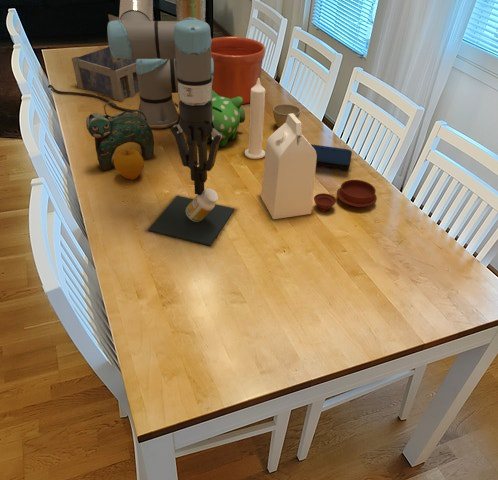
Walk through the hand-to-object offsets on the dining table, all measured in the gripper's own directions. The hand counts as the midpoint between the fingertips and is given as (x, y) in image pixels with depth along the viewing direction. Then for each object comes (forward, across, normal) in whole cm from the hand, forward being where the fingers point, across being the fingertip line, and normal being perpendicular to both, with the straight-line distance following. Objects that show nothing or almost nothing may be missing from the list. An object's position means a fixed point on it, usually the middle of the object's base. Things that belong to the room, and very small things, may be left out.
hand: (199, 192), depth 119 cm
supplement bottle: (+8, -2, +1) cm, 9 cm away
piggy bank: (+9, -14, +50) cm, 53 cm away
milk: (+10, +19, +18) cm, 28 cm away
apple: (+10, -30, +15) cm, 35 cm away
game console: (+10, +25, +47) cm, 54 cm away
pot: (+8, -24, +90) cm, 93 cm away
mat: (+10, -3, +1) cm, 10 cm away
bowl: (+9, +5, +68) cm, 69 cm away
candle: (+9, +1, +44) cm, 45 cm away
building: (+8, -72, +78) cm, 107 cm away
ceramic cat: (+9, -36, +22) cm, 44 cm away
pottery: (+10, +35, +25) cm, 44 cm away
